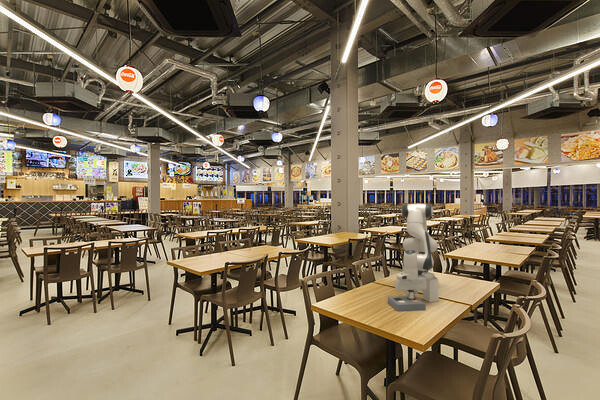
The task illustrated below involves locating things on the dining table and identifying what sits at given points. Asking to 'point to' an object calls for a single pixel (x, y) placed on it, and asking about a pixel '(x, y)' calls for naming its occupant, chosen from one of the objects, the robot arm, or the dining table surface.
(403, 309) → the socket board
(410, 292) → the plug
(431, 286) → the milk carton
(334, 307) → the dining table surface
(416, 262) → the robot arm
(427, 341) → the dining table surface
